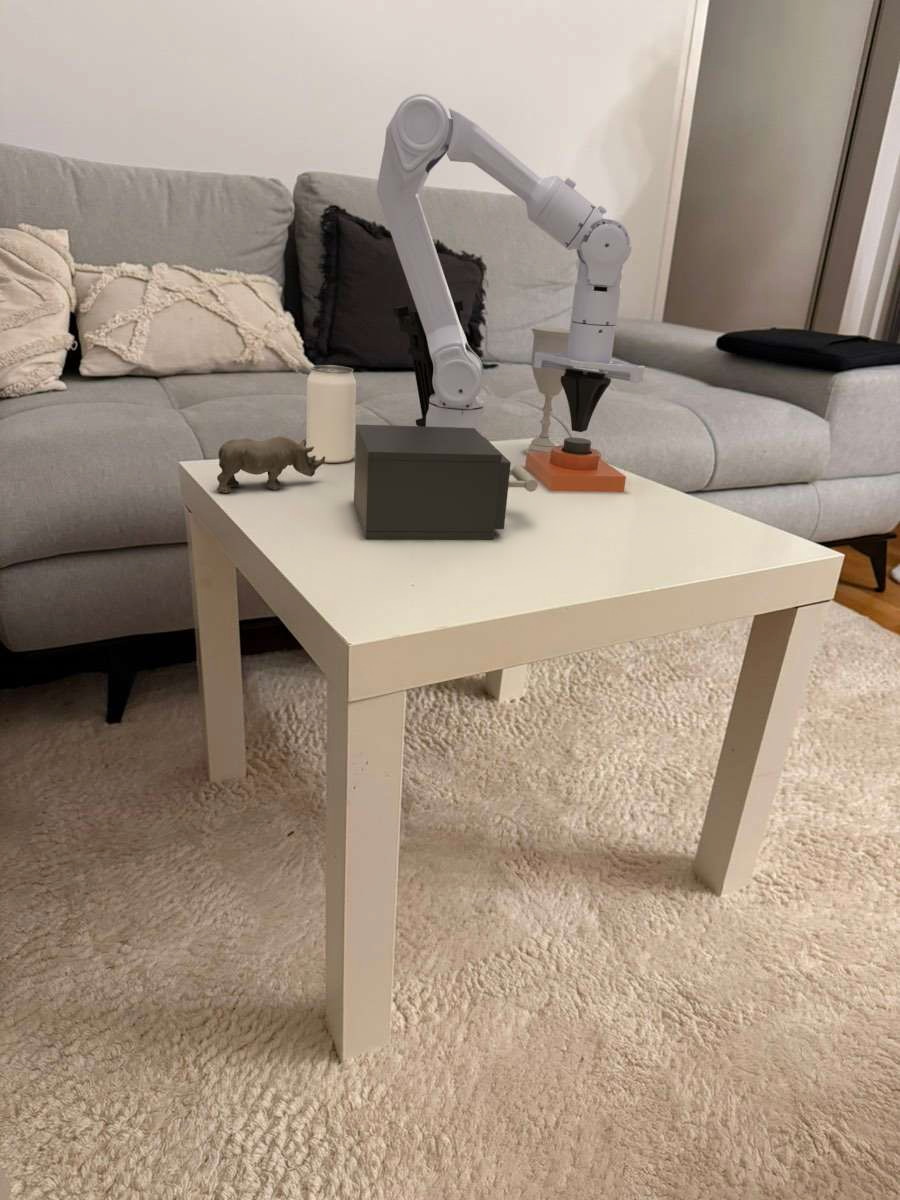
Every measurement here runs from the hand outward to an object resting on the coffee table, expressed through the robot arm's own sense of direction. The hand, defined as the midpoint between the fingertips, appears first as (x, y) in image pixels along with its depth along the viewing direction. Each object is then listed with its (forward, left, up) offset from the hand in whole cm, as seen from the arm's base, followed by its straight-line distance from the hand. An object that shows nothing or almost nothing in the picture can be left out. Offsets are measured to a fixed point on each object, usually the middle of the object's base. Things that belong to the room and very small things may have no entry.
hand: (579, 430), depth 113 cm
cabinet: (+18, -24, -7) cm, 31 cm away
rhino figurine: (+5, -40, -7) cm, 41 cm away
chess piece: (-15, -14, -6) cm, 21 cm away
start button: (0, 0, -3) cm, 3 cm away
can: (-9, -32, -7) cm, 34 cm away
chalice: (-14, 0, -7) cm, 16 cm away
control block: (0, 0, -7) cm, 7 cm away
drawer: (+18, -20, -6) cm, 28 cm away
